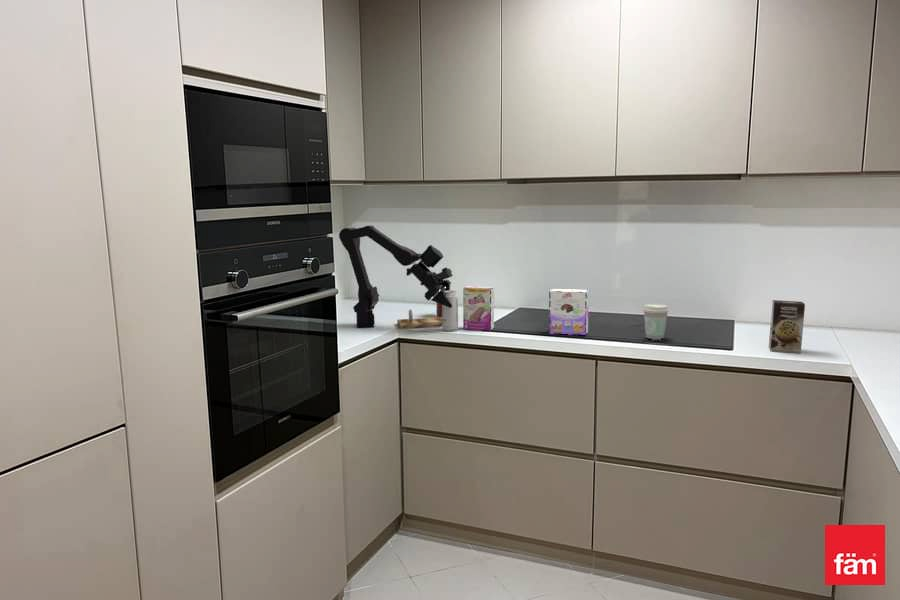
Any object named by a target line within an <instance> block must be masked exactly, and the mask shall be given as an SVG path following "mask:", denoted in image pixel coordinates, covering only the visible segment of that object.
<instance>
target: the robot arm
mask: <svg viewBox="0 0 900 600" xmlns="http://www.w3.org/2000/svg"><path fill="white" fill-rule="evenodd" d="M365 237H368V238H369V239H371V240H372V241H373V242H375V243H376V244H378V246H380V247H381V248H383V249H385V250H386V251H387V252H388V253H390V254H391V255H392V256H393V258H394V259H395V260H396V261H397V262H398V263H399V264H400V265H401V266H404V267H407V266H410V265H411V267H408V268H406V276H407V277H409V276H411V275H413V277H415V278H416V279H417V280H418V281H419V282H420V283H419V284H420V285H421V286H424V287H425V289H426V292H424V299H426V300H427V301H432V302H435V303H436V304H437V303H440V304H442V305H445V306H447V307H449V308H451V307H452V305H451V303H450V302H449V300H448V299H447V297H446V296H445V295H444V291H449V290H451V286H452V285H451V284H452V282H451V281H450V280H449V278H451V277H453V276H454V275H453V273H452V272H453V270H451V269H450V268H448V267H447V266H446V267H444V268H442V269H441V271H440V272H438V273H437V272H436V271H435V272H434V271H431V270H430V269H429V268H435V266H437V264H439V263H440V261H441V260H443V258H444V255H443V253H442V252H441V251H440V250H439V249H437V248H436V247H434V246H433V245H432V244H430V245H428V247H426V249H425V250H424V251H423V252H422V253H418V252H416V251H415V250H413V249H412V248H409V247H407V246H403V245H401V244H399V243H397V242H396V241H394V240H393V239H392V238H390V237H388V236H387V235H386V234H384V233H382V232H381V231H380V230H378V229H377V228H376V227H375V226H374V225H365V226H363V227H357V228H355V227H353V226H352V227H346V228H342V229H341V230H340V231H339V234H338V238H339V240H340V242H341V245H342V246H343V247H344V248H345V250H346V251H347V253H348V256H349V260H350V264H351V266H352V269H353V273H354V276H355V279H356V283H357V286H358V287H357V288H358V291H357V298H358V299H357V300H358V302H357V303H356V304H354V306H353V307H352V308H353V311H354V313H355V317H356V318H355V319H356V320H355V321H356V323H355V325H356V328H358V329H359V328H362V329H363V328H374V327H375V322H376V321H375V314H374V313H373V312H374V311H373V310H375V306H376V305H377V304H378V303H379V301H380V300H379V297H380V294H379V292H378V287H377V286H373V285H372V284H371V283H370V280H369V276H368V272H367V269H366V266H365V262H364V259H363V256H362V252H361V238H365ZM416 262H418V263H416Z"/></svg>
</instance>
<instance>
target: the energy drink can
mask: <svg viewBox="0 0 900 600" xmlns="http://www.w3.org/2000/svg"><path fill="white" fill-rule="evenodd" d="M444 295H445V296H446V297H447V299H448V300H449V302H450V303H451V305H452V307H451V308H449V307H447V306H445V305H442V327H441V328H442V329H443V331H444V332H449V333H450V332H457V330H458V328H459V296H458V293H457V290H451V289H450V290H449V291H444Z"/></svg>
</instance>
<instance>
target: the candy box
mask: <svg viewBox="0 0 900 600" xmlns="http://www.w3.org/2000/svg"><path fill="white" fill-rule="evenodd" d="M589 291H590V290H589V289H577V288H576V289H574V288H572V289H570V288H568V289H567V288H551V289H550V290H549V291H548V300H549V301H548V334H549V333H550V334H549V335H559V334H568V335H567V336H579V335H586V334H587V333H588V334H589V296H590V295H589ZM588 334H587V335H588ZM587 335H586V336H587Z"/></svg>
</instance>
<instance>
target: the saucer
mask: <svg viewBox="0 0 900 600" xmlns="http://www.w3.org/2000/svg"><path fill="white" fill-rule="evenodd" d="M408 319H409V323H412V321H413V319H414V317H413V310H412V309H411V308H410V309H408Z"/></svg>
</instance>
